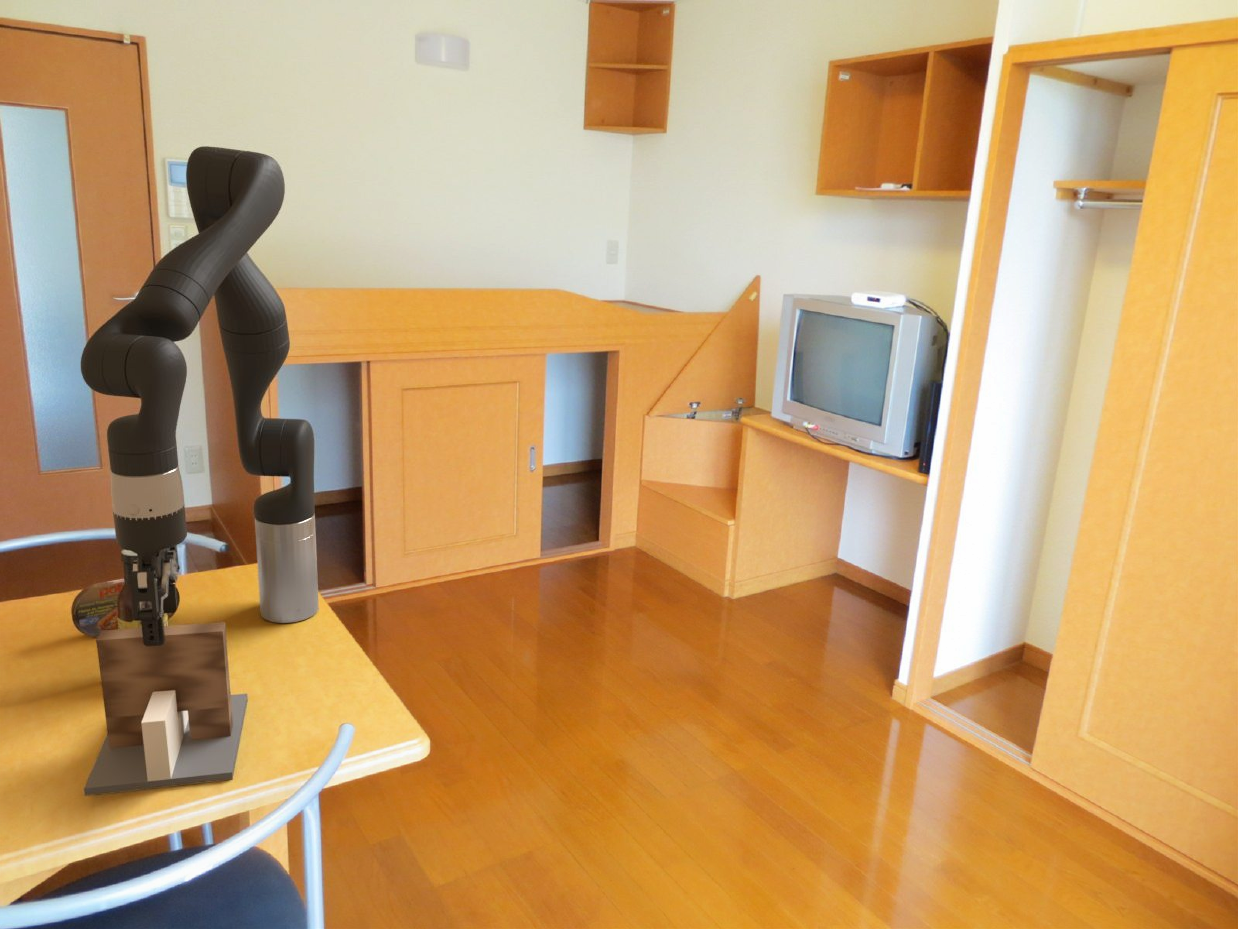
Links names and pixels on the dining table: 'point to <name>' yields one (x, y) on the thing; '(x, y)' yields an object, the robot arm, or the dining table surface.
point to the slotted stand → (167, 751)
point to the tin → (100, 607)
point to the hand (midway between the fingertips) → (161, 627)
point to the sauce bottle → (129, 596)
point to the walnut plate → (165, 679)
